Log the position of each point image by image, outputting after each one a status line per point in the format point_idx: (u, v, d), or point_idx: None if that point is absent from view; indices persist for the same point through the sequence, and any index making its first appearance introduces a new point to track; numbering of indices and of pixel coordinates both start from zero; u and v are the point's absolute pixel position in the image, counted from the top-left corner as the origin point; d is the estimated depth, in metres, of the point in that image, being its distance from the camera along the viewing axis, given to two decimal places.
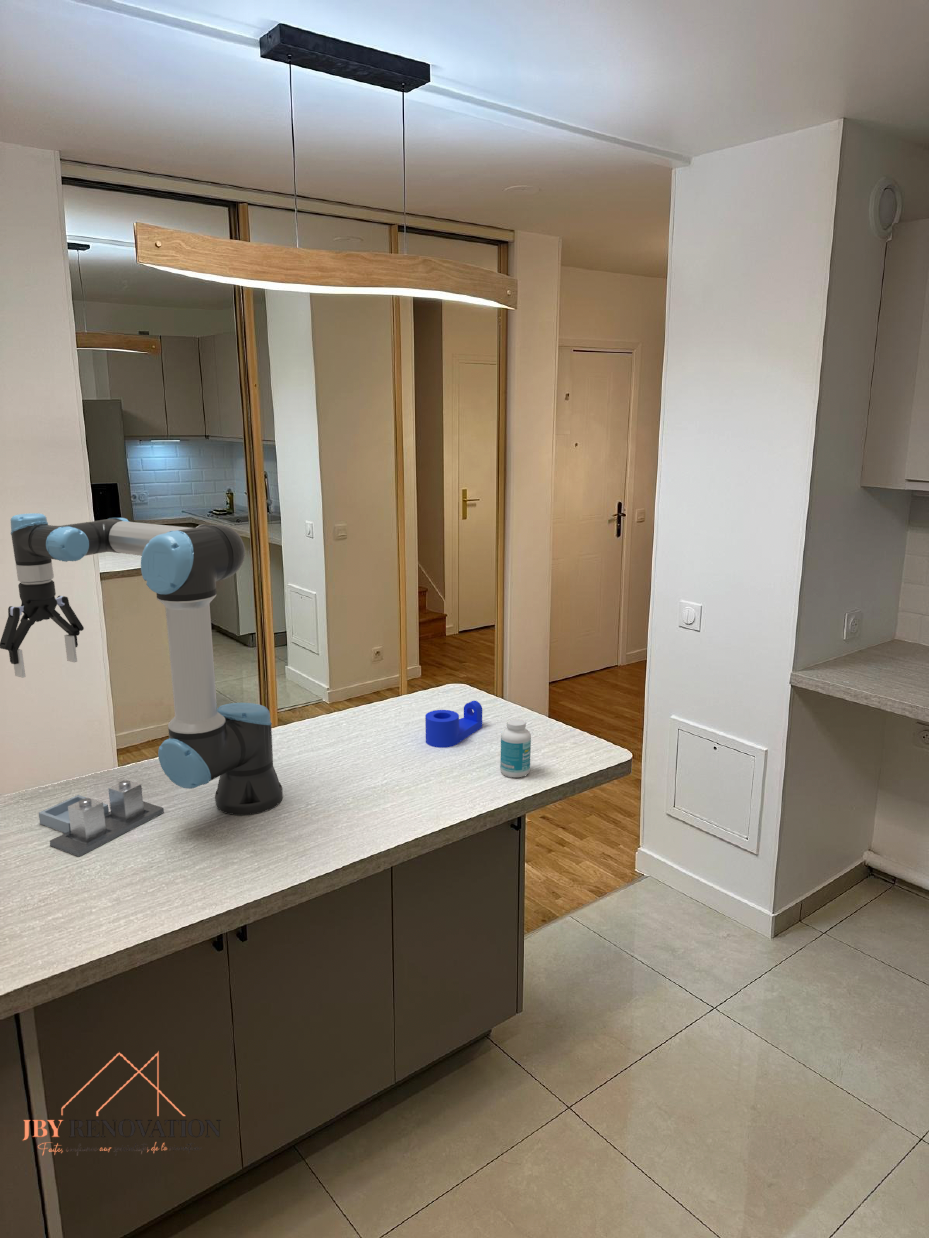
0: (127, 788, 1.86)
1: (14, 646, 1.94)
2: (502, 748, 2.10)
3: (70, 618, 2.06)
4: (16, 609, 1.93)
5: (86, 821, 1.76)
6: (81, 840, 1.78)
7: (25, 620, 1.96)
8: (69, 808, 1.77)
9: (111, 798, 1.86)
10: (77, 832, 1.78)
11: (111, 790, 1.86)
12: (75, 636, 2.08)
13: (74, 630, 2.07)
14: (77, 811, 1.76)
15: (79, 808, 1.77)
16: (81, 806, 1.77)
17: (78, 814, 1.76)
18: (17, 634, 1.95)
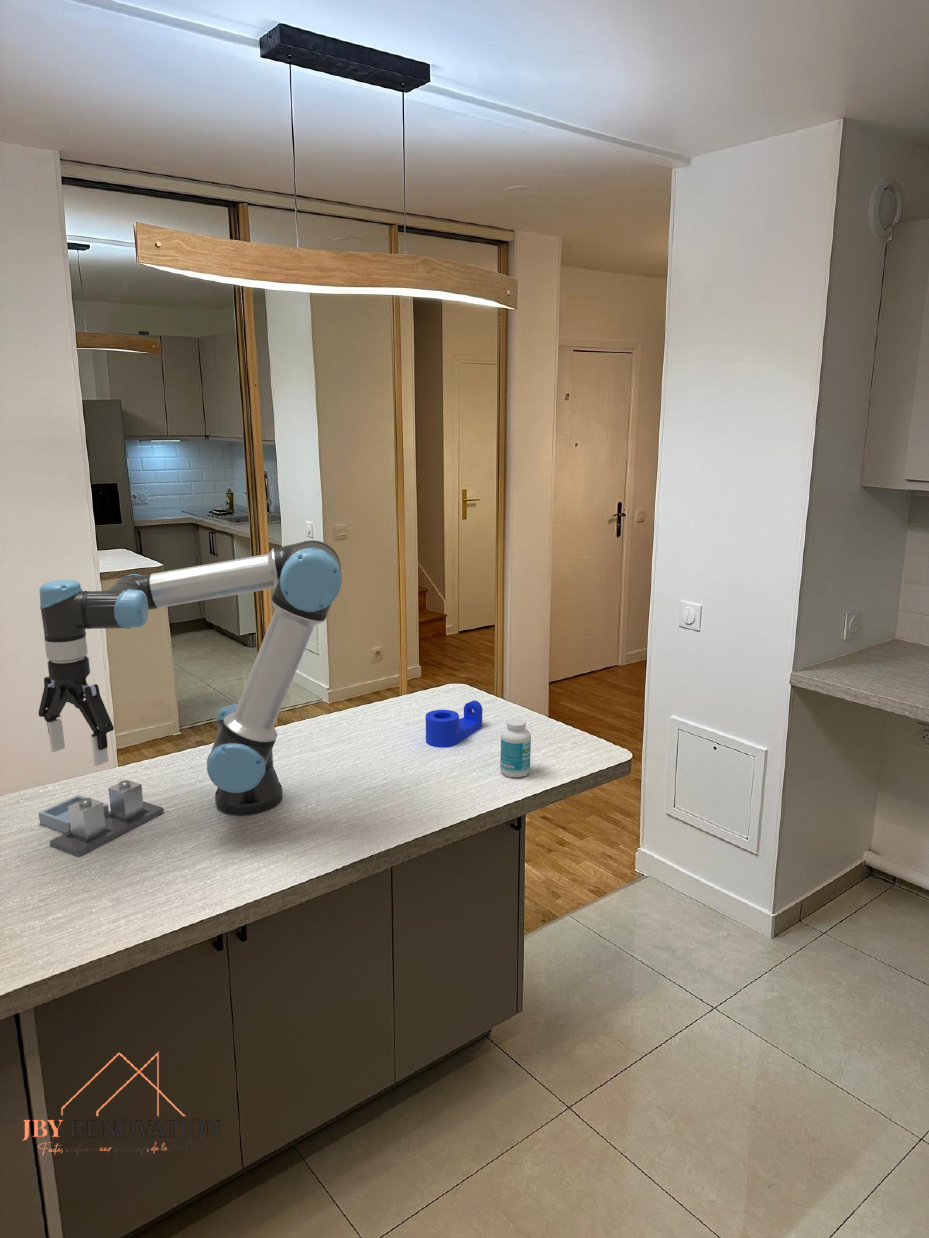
0: (127, 788, 1.86)
1: (45, 716, 1.77)
2: (502, 748, 2.10)
3: None
4: (44, 679, 1.74)
5: (86, 821, 1.76)
6: (81, 840, 1.78)
7: None
8: (69, 808, 1.77)
9: (111, 798, 1.86)
10: (77, 832, 1.78)
11: (111, 790, 1.86)
12: (99, 737, 1.70)
13: (94, 729, 1.69)
14: (77, 811, 1.76)
15: (79, 808, 1.77)
16: (81, 806, 1.77)
17: (78, 814, 1.76)
18: None
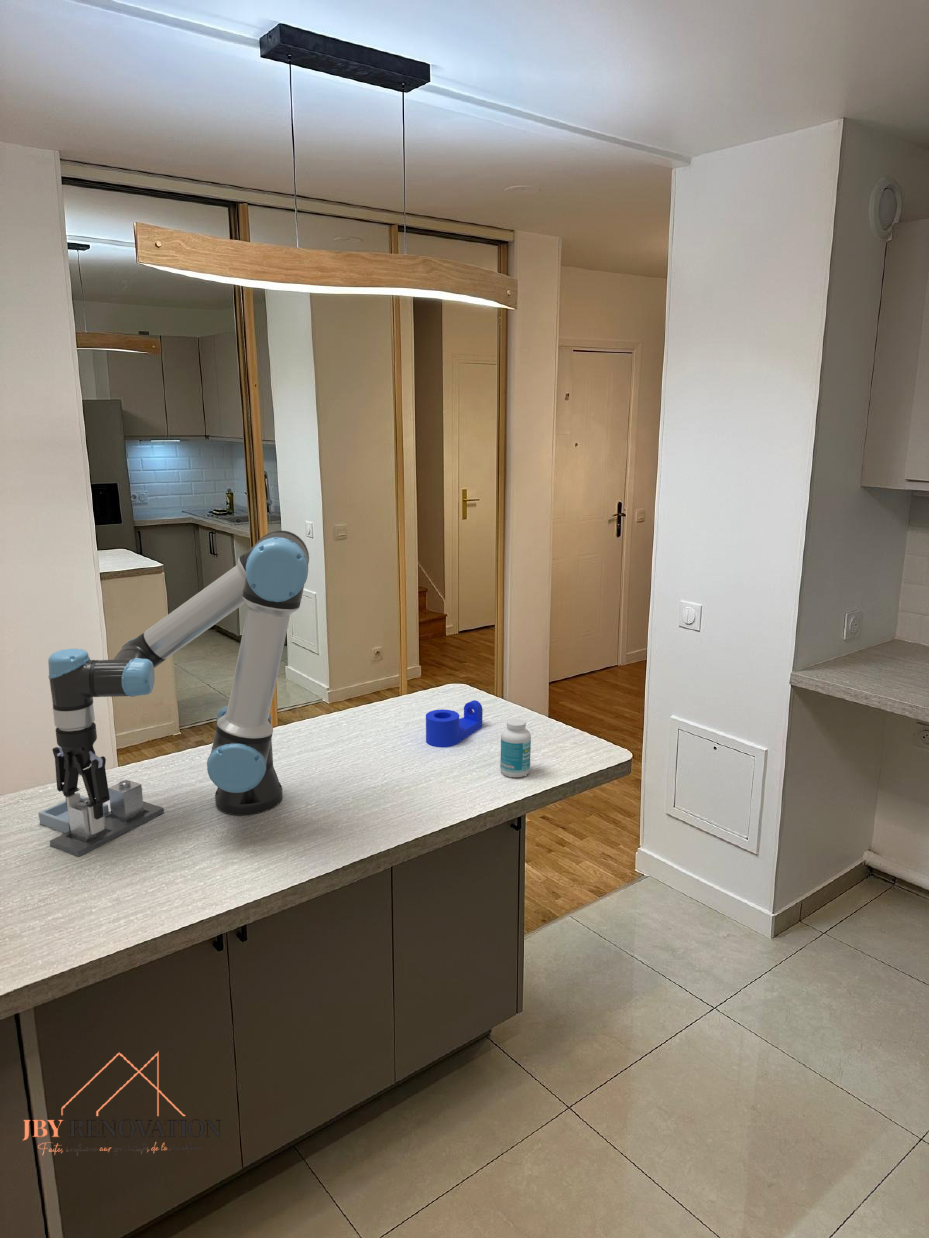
0: (127, 788, 1.86)
1: (63, 791, 1.79)
2: (502, 748, 2.10)
3: None
4: (53, 750, 1.78)
5: (86, 821, 1.76)
6: (81, 840, 1.78)
7: None
8: (69, 808, 1.77)
9: (111, 798, 1.86)
10: (77, 832, 1.78)
11: (111, 790, 1.86)
12: (95, 807, 1.76)
13: (92, 800, 1.75)
14: (77, 811, 1.76)
15: (79, 808, 1.77)
16: (81, 806, 1.77)
17: (78, 814, 1.76)
18: None
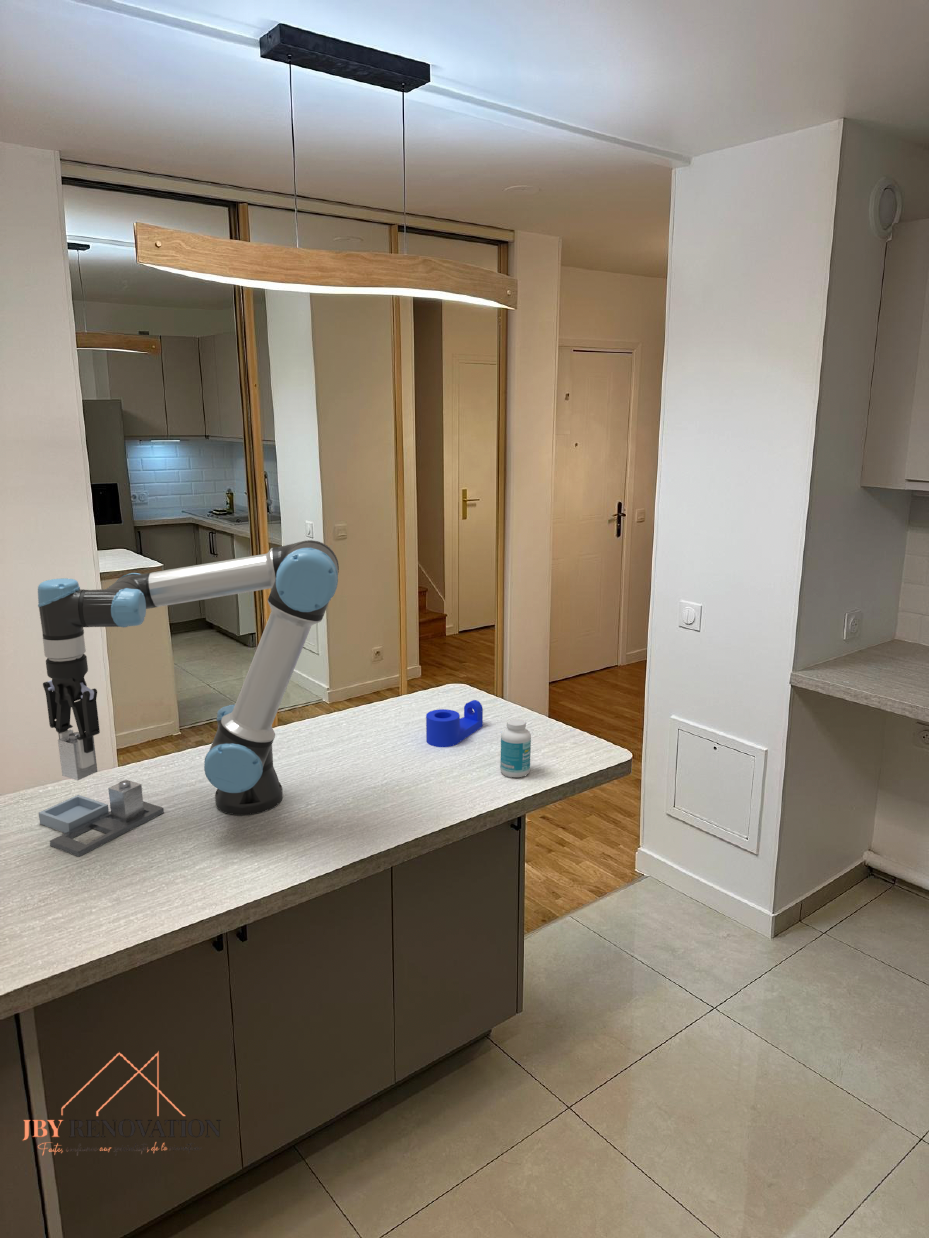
0: (127, 788, 1.86)
1: (56, 727, 1.76)
2: (502, 748, 2.10)
3: None
4: (43, 684, 1.75)
5: (77, 754, 1.74)
6: (71, 774, 1.75)
7: None
8: (59, 741, 1.75)
9: (111, 798, 1.86)
10: (68, 766, 1.75)
11: (111, 790, 1.86)
12: (85, 740, 1.73)
13: (81, 733, 1.73)
14: (68, 744, 1.74)
15: (69, 741, 1.74)
16: (71, 739, 1.75)
17: (68, 747, 1.74)
18: None
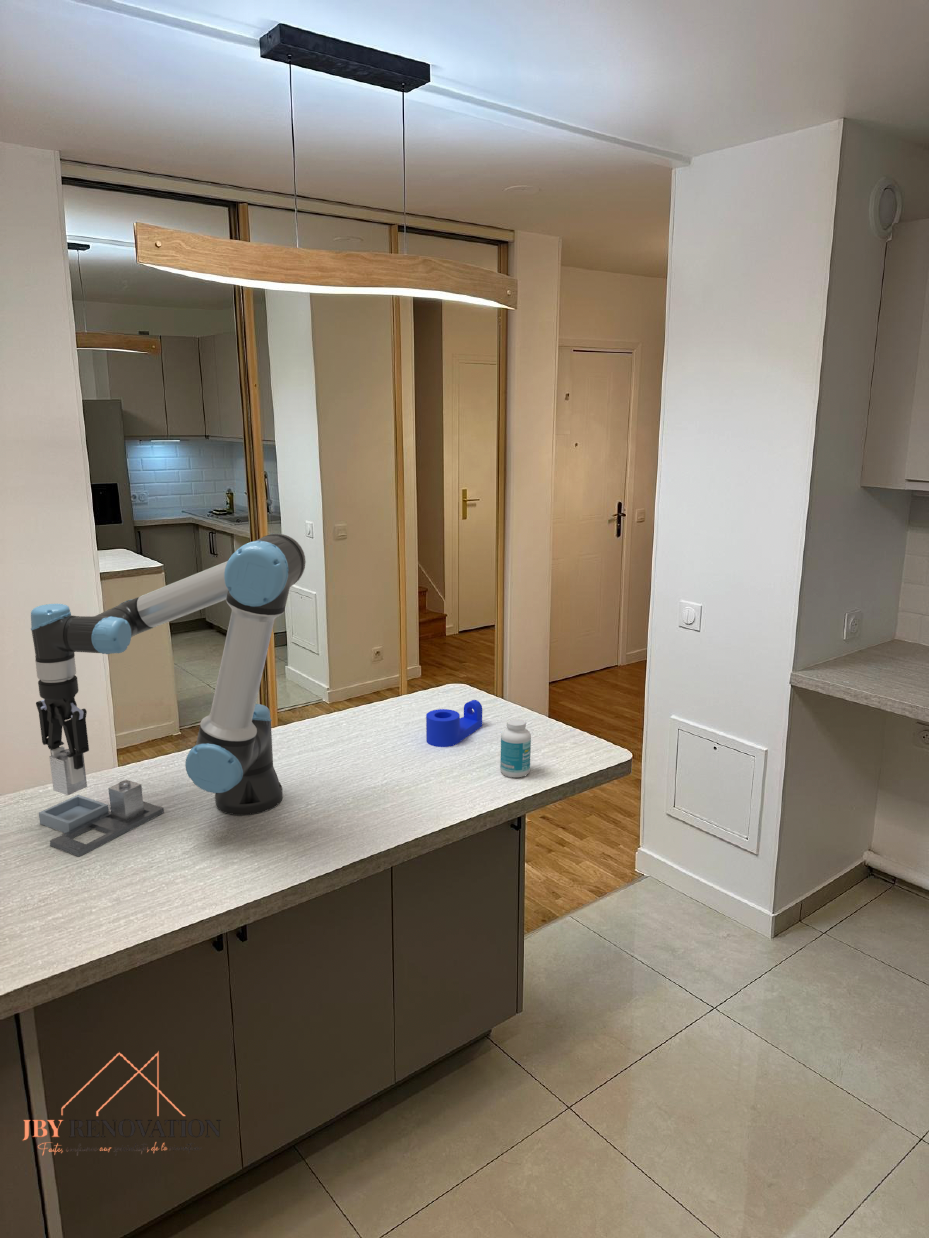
0: (127, 788, 1.86)
1: (48, 744, 1.85)
2: (502, 748, 2.10)
3: None
4: (36, 704, 1.84)
5: (67, 770, 1.83)
6: (62, 789, 1.84)
7: None
8: (50, 758, 1.84)
9: (111, 798, 1.86)
10: (58, 782, 1.84)
11: (111, 790, 1.86)
12: (75, 757, 1.82)
13: (71, 750, 1.81)
14: (58, 760, 1.82)
15: (60, 758, 1.83)
16: (62, 756, 1.84)
17: (59, 764, 1.83)
18: None
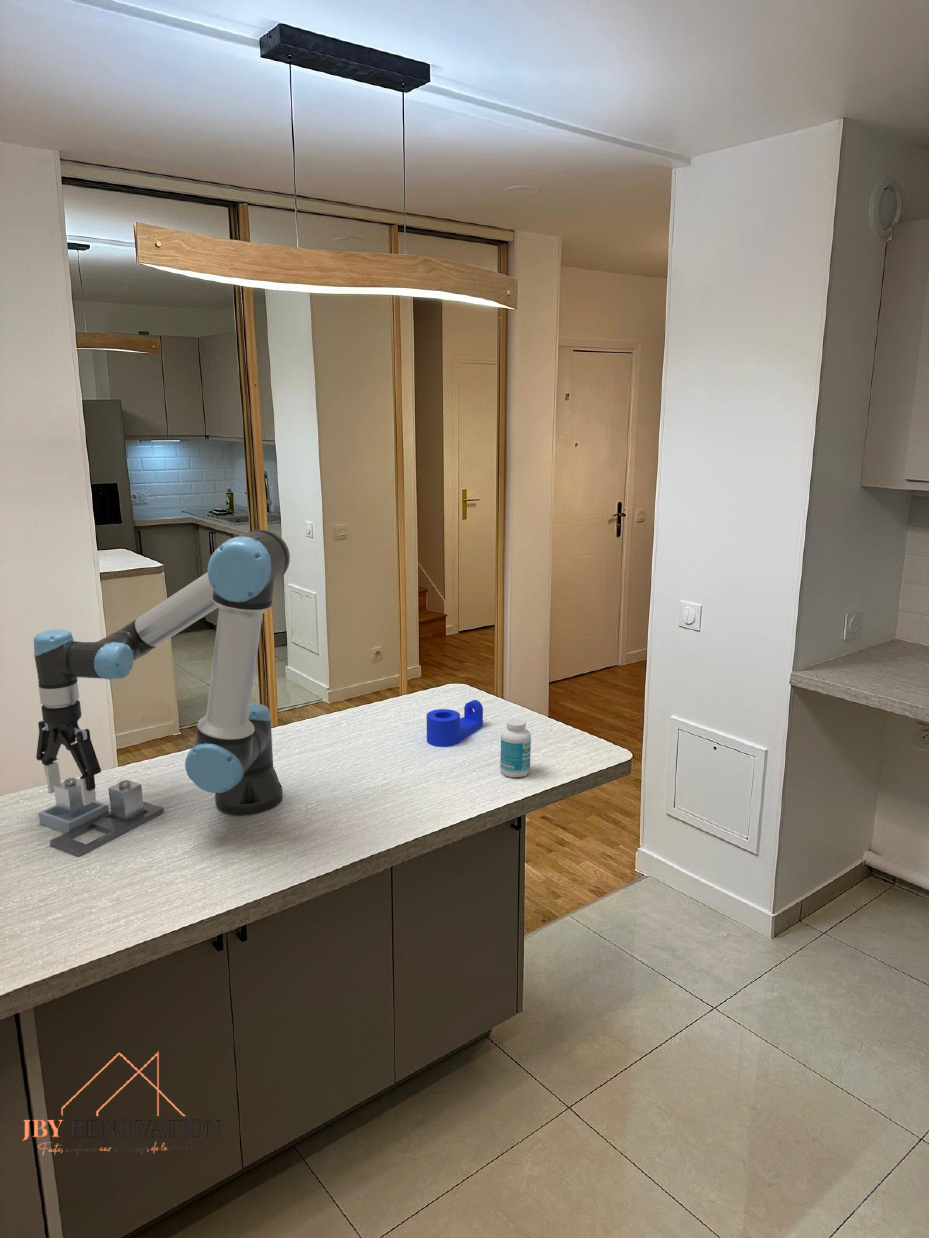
0: (127, 788, 1.86)
1: (42, 760, 1.88)
2: (502, 748, 2.10)
3: None
4: (39, 723, 1.85)
5: (71, 799, 1.84)
6: (66, 818, 1.86)
7: None
8: (55, 787, 1.85)
9: (111, 798, 1.86)
10: (63, 811, 1.86)
11: (111, 790, 1.86)
12: (87, 779, 1.82)
13: (83, 772, 1.81)
14: (63, 790, 1.84)
15: (64, 787, 1.85)
16: (66, 785, 1.85)
17: (63, 793, 1.84)
18: None
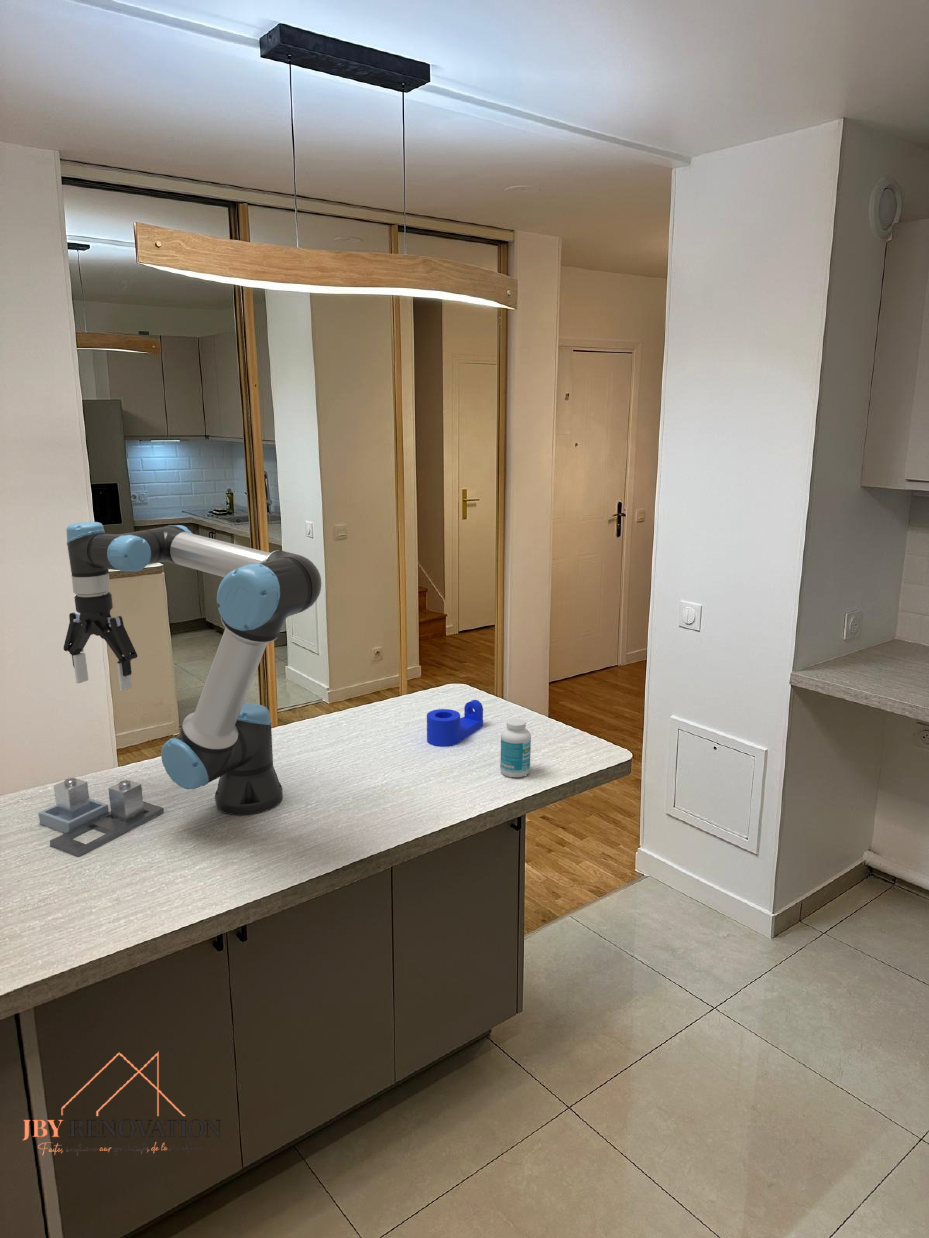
0: (127, 788, 1.86)
1: (70, 650, 1.93)
2: (502, 748, 2.10)
3: None
4: (70, 615, 1.90)
5: (71, 799, 1.84)
6: (66, 818, 1.86)
7: None
8: (55, 787, 1.85)
9: (111, 798, 1.86)
10: (63, 811, 1.86)
11: (111, 790, 1.86)
12: (124, 664, 1.87)
13: (120, 657, 1.86)
14: (63, 790, 1.84)
15: (64, 787, 1.85)
16: (66, 785, 1.85)
17: (63, 793, 1.84)
18: None
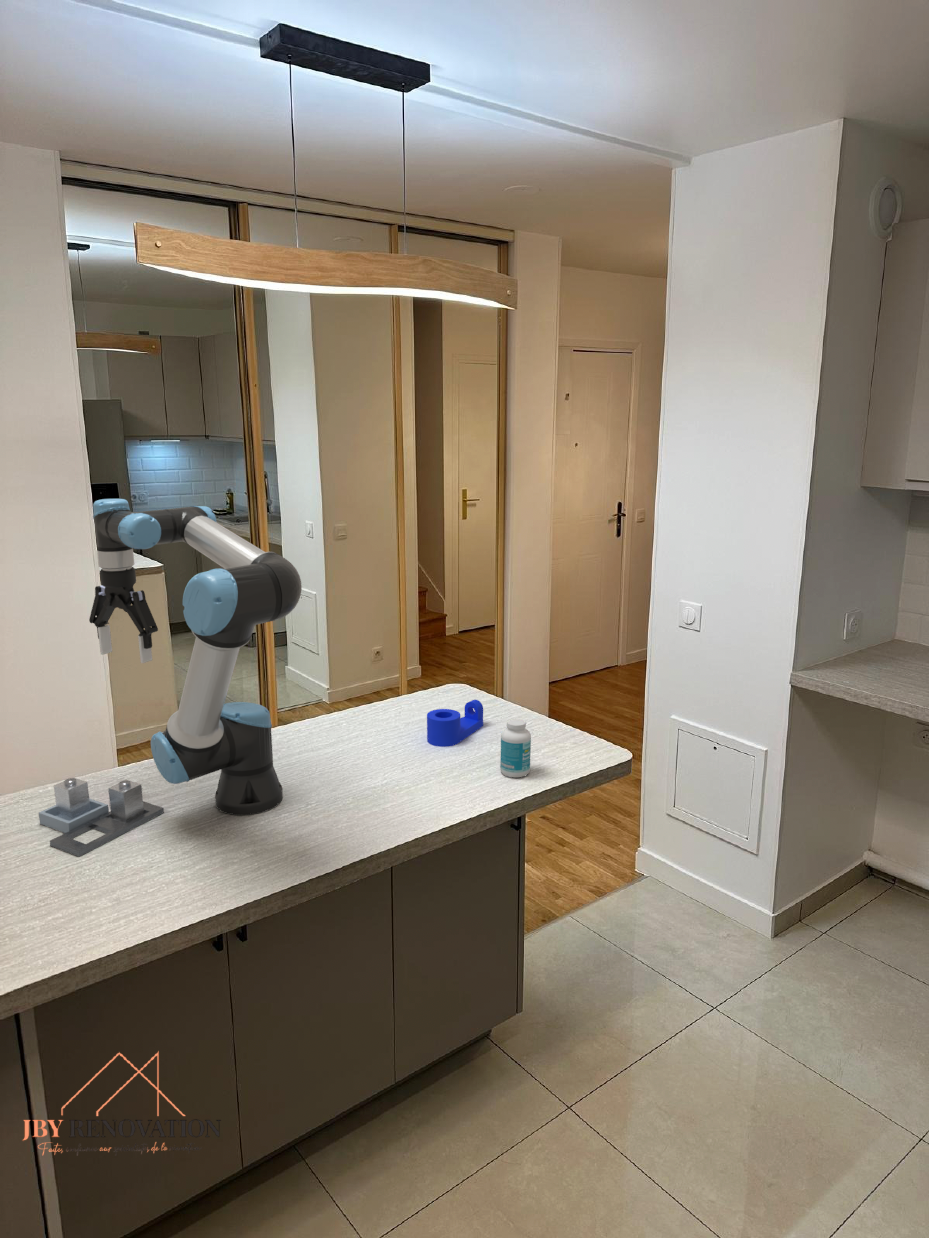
0: (127, 788, 1.86)
1: (95, 622, 2.00)
2: (502, 748, 2.10)
3: None
4: (95, 588, 1.97)
5: (71, 799, 1.84)
6: (66, 818, 1.86)
7: None
8: (55, 787, 1.85)
9: (111, 798, 1.86)
10: (63, 811, 1.86)
11: (111, 790, 1.86)
12: (145, 637, 1.93)
13: (141, 630, 1.92)
14: (63, 790, 1.84)
15: (64, 787, 1.85)
16: (66, 785, 1.85)
17: (63, 793, 1.84)
18: None
